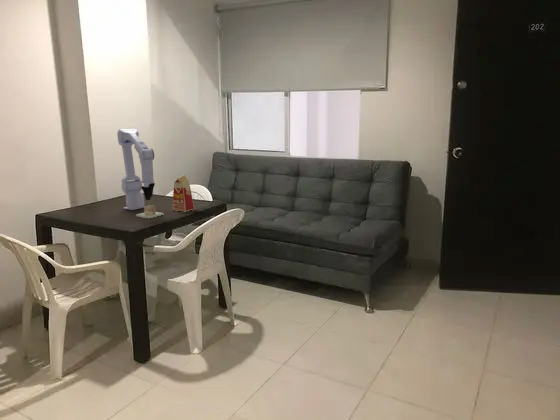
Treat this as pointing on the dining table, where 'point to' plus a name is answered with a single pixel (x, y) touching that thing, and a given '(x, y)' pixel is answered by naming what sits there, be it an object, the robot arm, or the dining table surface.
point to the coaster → (149, 215)
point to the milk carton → (182, 195)
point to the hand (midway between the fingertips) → (149, 198)
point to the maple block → (149, 210)
